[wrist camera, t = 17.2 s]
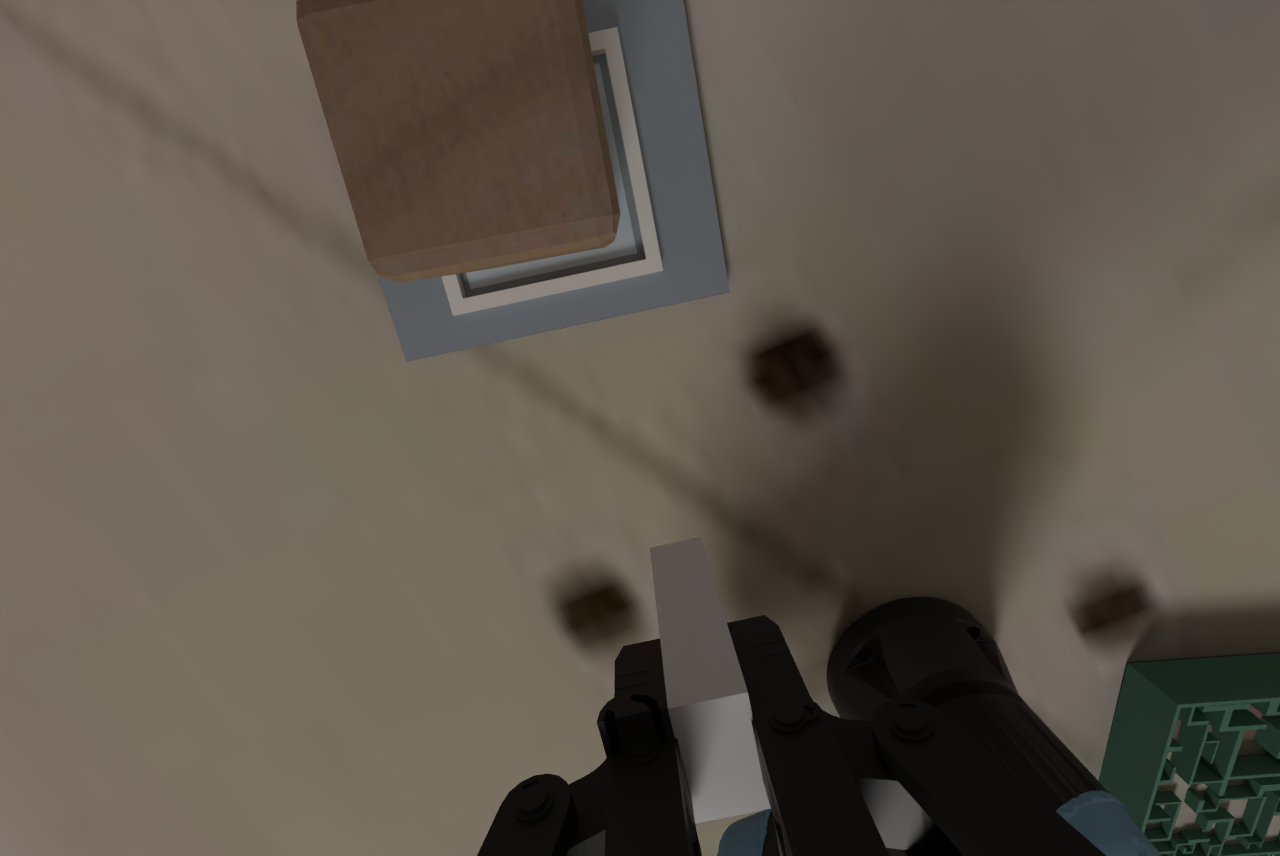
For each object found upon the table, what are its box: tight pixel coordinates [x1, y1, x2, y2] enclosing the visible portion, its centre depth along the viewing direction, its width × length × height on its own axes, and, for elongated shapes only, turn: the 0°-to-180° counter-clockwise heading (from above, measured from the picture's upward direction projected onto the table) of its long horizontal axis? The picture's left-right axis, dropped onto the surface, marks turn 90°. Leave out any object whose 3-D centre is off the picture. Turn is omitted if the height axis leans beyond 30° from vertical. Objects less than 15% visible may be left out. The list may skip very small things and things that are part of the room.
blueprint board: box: [378, 0, 730, 362], centre depth 41 cm, size 24×20×2 cm
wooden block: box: [296, 0, 620, 283], centre depth 31 cm, size 10×10×20 cm
